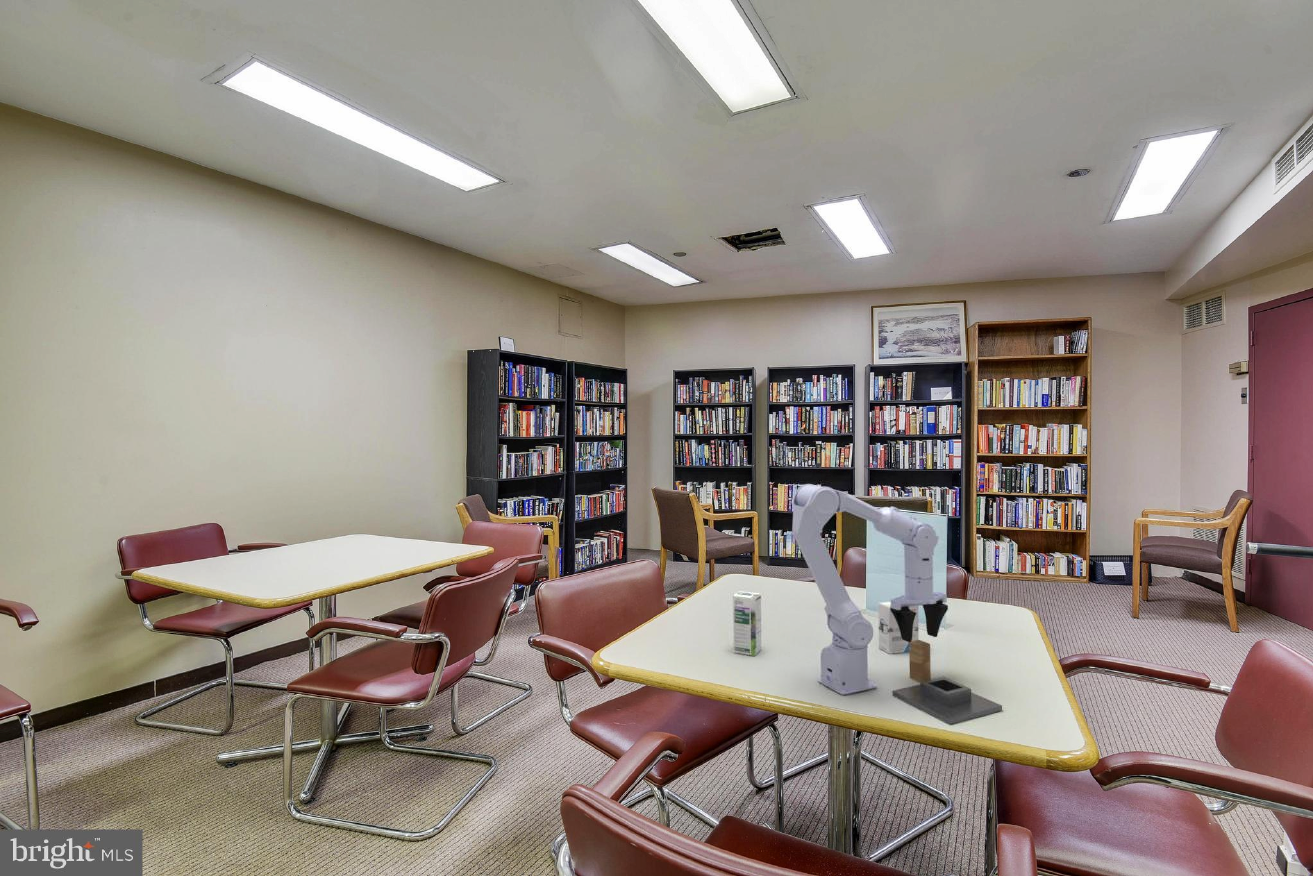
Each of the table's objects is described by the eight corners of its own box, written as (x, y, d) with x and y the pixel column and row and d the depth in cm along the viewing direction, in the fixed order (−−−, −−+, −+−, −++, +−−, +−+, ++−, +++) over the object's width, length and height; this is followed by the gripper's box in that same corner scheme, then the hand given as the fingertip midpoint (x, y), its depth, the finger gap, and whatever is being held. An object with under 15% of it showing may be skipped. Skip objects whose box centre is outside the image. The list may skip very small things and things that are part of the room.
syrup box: (732, 653, 148) (732, 595, 149) (740, 646, 154) (740, 589, 154) (754, 656, 146) (754, 597, 146) (762, 649, 151) (761, 592, 151)
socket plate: (949, 724, 110) (949, 705, 110) (892, 695, 123) (892, 678, 123) (1002, 710, 115) (1001, 692, 115) (941, 684, 128) (941, 667, 128)
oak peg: (920, 682, 129) (919, 645, 129) (909, 677, 132) (909, 641, 132) (930, 680, 130) (930, 643, 130) (919, 675, 133) (919, 639, 133)
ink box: (906, 644, 153) (905, 599, 153) (920, 651, 148) (919, 604, 149) (877, 648, 151) (877, 601, 151) (890, 655, 146) (889, 607, 146)
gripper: (908, 583, 125) (909, 648, 125) (957, 576, 130) (958, 638, 130) (883, 576, 131) (884, 638, 131) (931, 570, 137) (932, 629, 137)
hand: (919, 638), depth 131 cm, fingers open, 7 cm apart
